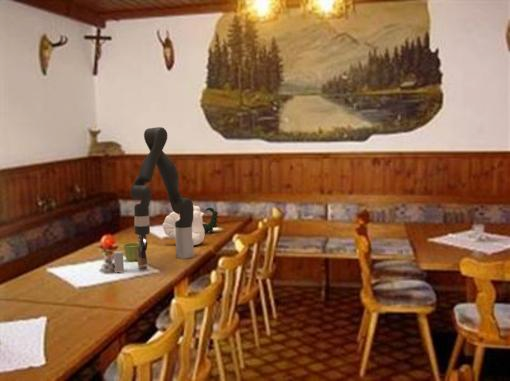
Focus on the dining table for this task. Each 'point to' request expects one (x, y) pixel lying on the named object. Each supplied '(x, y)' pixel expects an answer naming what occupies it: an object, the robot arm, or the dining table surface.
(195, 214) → the decorative rooster
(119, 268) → the slate-grey block
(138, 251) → the walnut block
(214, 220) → the toy figurine
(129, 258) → the plant pot
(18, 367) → the dining table surface
